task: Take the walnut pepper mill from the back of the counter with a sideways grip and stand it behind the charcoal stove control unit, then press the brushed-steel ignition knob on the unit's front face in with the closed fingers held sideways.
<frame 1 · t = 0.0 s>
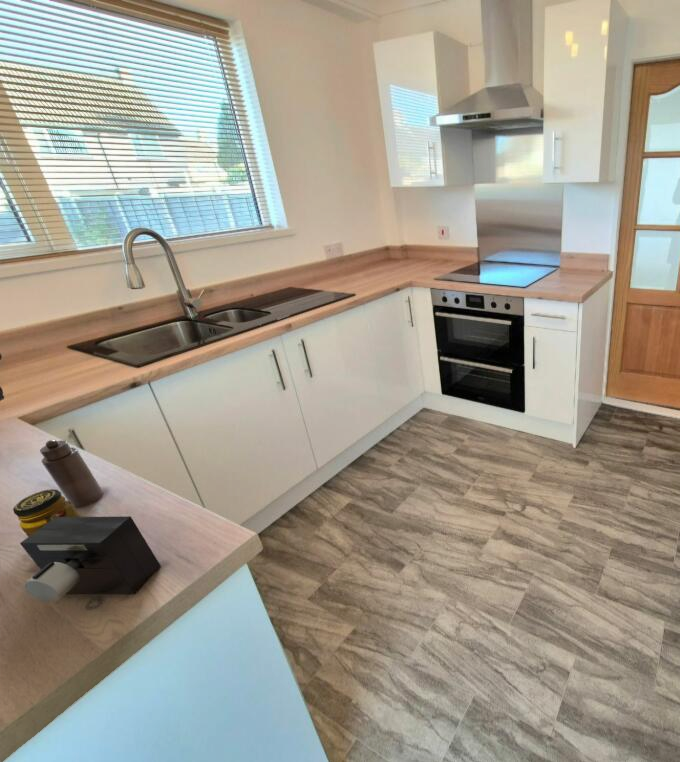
condiment: (82, 551, 72), on the table
pepper mill: (89, 500, 84), on the table
knob: (59, 575, 59), point 7 cm above the table, slide at 0.0 cm
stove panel: (113, 581, 66), on the table
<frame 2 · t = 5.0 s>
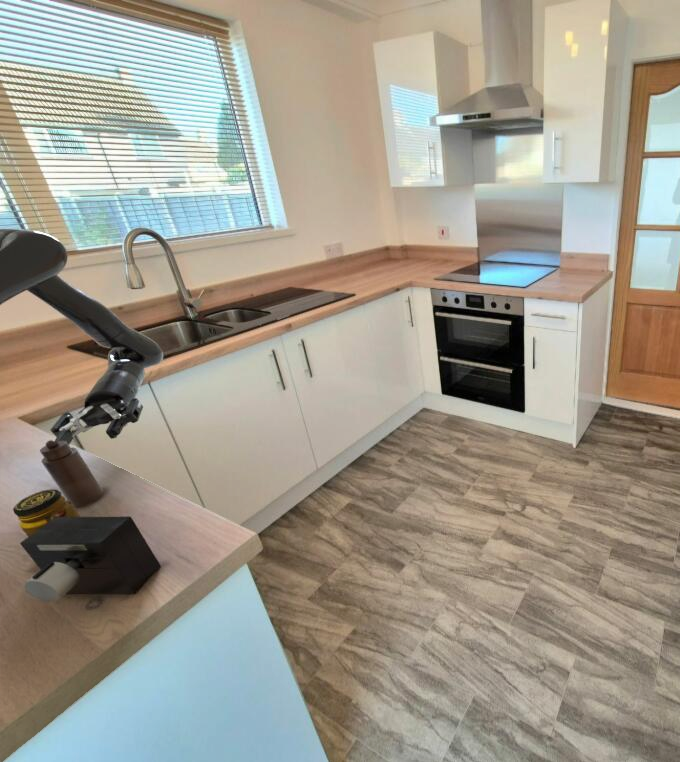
hand: (85, 440, 86), 9 cm above the table, tool horizontal, fingers open, 8 cm apart
nothing on the table moved.
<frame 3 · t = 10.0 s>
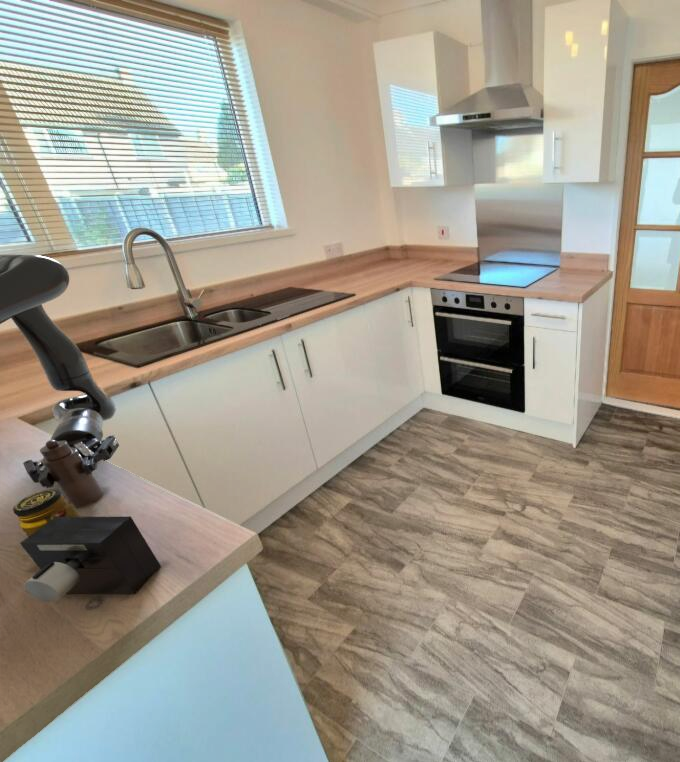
hand: (67, 476, 78), 8 cm above the table, tool horizontal, fingers closed on pepper mill, 5 cm apart
pepper mill: (89, 500, 84), on the table, touching gripper
everything else where it was.
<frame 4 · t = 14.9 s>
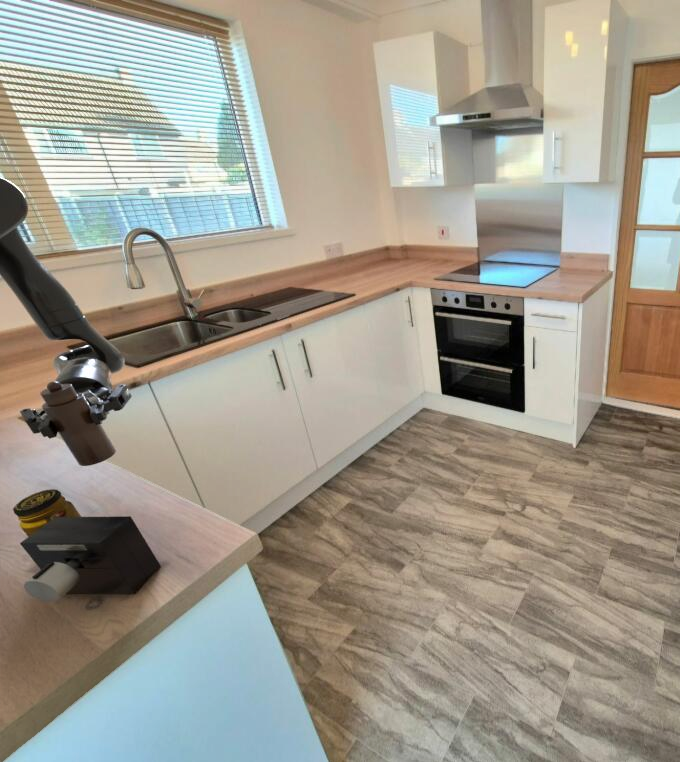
hand: (73, 425, 66), 22 cm above the table, tool horizontal, fingers closed on pepper mill, 5 cm apart
pepper mill: (97, 457, 72), point 14 cm above the table, touching gripper
everything else where it was.
when the fingers open (8 cm above the table, at t = 19.7 s): pepper mill stays where it is, on the table.
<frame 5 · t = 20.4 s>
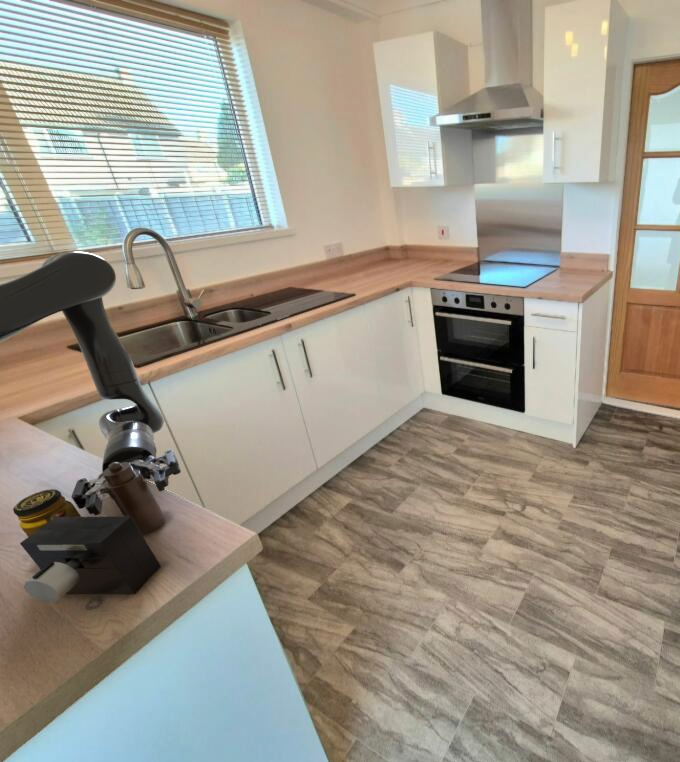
hand: (128, 498, 71), 8 cm above the table, tool horizontal, fingers open, 8 cm apart
pepper mill: (150, 527, 76), on the table
everything else where it was.
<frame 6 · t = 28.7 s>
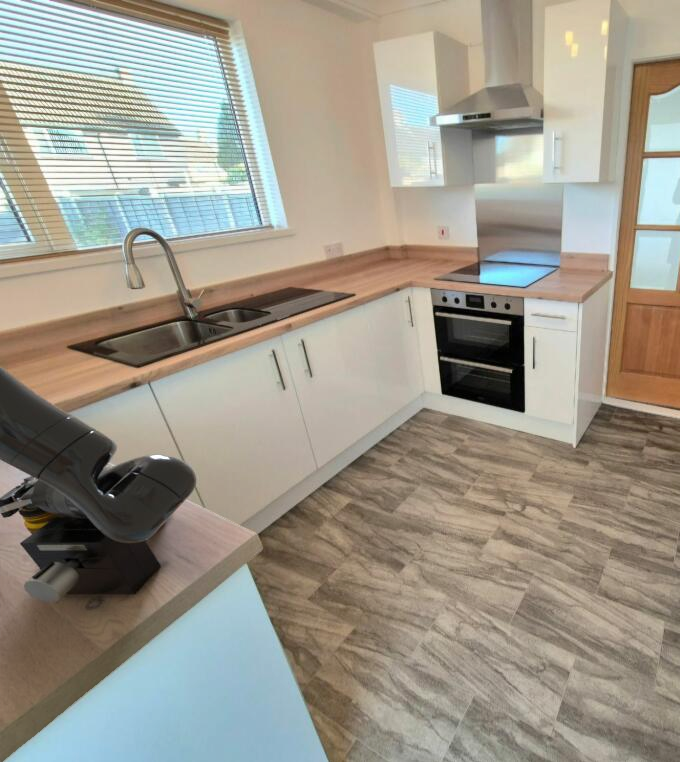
hand: (32, 482, 67), 13 cm above the table, tool horizontal, fingers closed
condiment: (85, 547, 72), on the table, touching gripper
pepper mill: (149, 525, 76), on the table, tilted 10°
everything else where it was.
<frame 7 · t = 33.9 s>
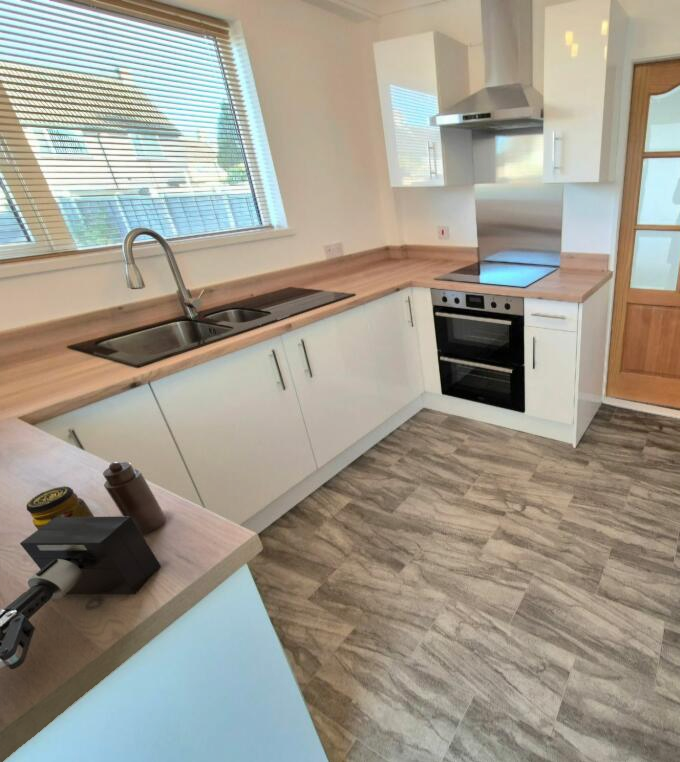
hand: (44, 589, 57), 7 cm above the table, tool horizontal, fingers closed
condiment: (94, 548, 73), on the table
pepper mill: (151, 526, 76), on the table
knob: (63, 572, 59), point 7 cm above the table, slide at 0.4 cm, touching gripper
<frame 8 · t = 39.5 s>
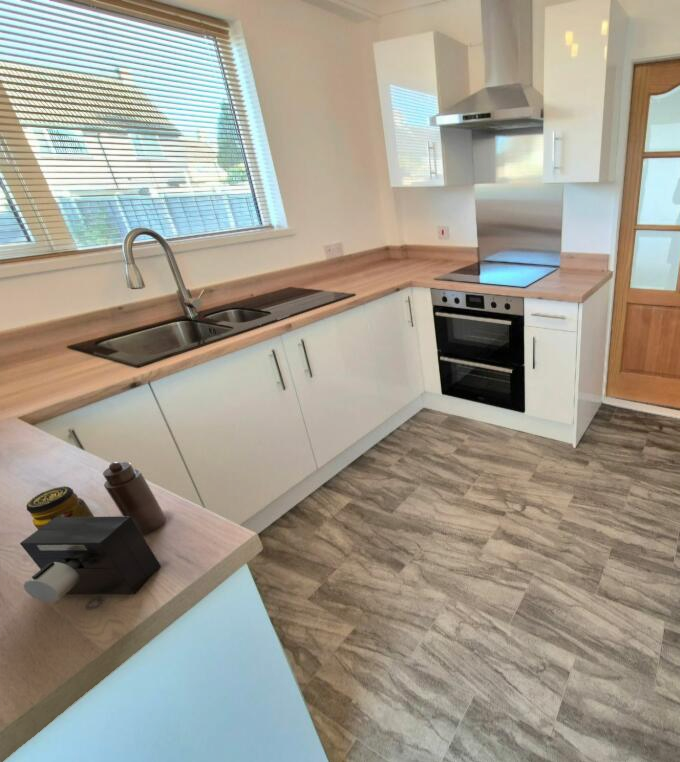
knob: (59, 575, 59), point 7 cm above the table, slide at -0.1 cm
everything else where it was.
at the end: pepper mill 0.2 cm from the target spot on the table beside the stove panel, on the table; knob pulled out 1.3 cm at the most during the clip, back to where it started at the end; knob slide at -0.1 cm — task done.
